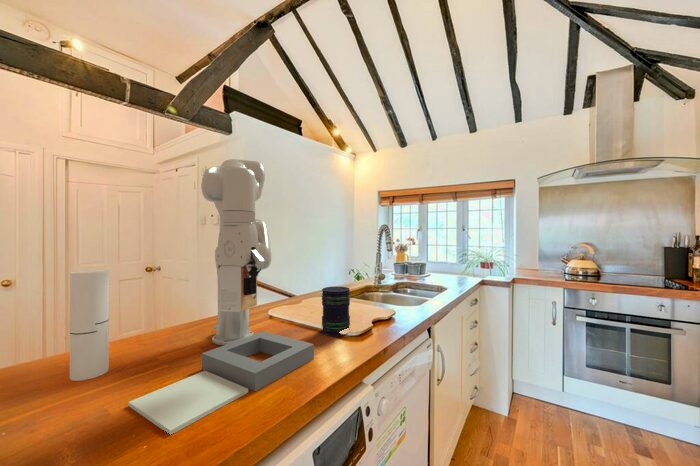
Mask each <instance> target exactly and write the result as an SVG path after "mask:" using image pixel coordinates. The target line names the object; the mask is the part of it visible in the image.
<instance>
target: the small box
mask: <svg viewBox="0 0 700 466" xmlns="http://www.w3.org/2000/svg"><path fill="white" fill-rule="evenodd" d="M249 270H251V268H249ZM244 278H246V275H245V273H244V267H240V266H220V267H219V311H220V312H242V311H244V310H246V309H248V308H249V309H251V308H253V307H256V306H257V305H258V299H257V298H258V277H256V294H252V295H244Z"/></svg>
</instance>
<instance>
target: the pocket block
mask: <svg viewBox="0 0 700 466" xmlns="http://www.w3.org/2000/svg"><path fill="white" fill-rule="evenodd" d="M259 352H260V353H264V354H267V355H270V356H271V357H268V358H266V359H264V360H262V361H259V360H256V359H254V358H249V357H250V356H253V355H255V354H257V353H259ZM314 359H315V344H314V343H311V342H307V341H303V340H298V339H294V338H292V337H287V336H283V335H279V334H276V333H271V332H267V331H261V332H258V333H256V334H254V335H252V336H249V337H246V338H244V339H241V340H238V341H235V342H232V343H230V344H227V345H220V346H219V347H216V348H213V349H209V350H207V351H205V352H201V370H203V371H207V372H210V373H212V374H214V375H217V376H219V377H222V378H224V379H226V380H229V381H231V382H233V383H236V384H238V385H240V386H243V387H245V388H248V390H249V391H253V392H257V391H259V390H260V389H263V388H264V387H267V386H268V385H270V384H272V383H273V382H276V381H277V380H279V379H280V378H282V377H284V376H286V375H288V374H289V373H292V372H293V371H295V370H297V369H298V368H300V367H302V366H304V365H305V364H307V363H308V362H311V361H312V360H314Z"/></svg>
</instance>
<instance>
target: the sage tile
mask: <svg viewBox="0 0 700 466" xmlns="http://www.w3.org/2000/svg"><path fill="white" fill-rule="evenodd" d="M246 394H249V389H248V388H245V387H243V386H240V385H238V384H236V383H233V382H231V381H229V380H226V379H224V378H222V377H219V376H217V375H214V374H212V373H210V372H207V371H205V370H203V371H200V372H198V373H195V374H194V375H191V376H188V377H185V378H183V379H180V380H178V381H176V382H174V383H172V384H169V385H166V386H164V387H162V388H159V389H156V390H154V391H151V392H149V393H146V394H144V395H143V396H140V397H137V398H134V399H132V400H130V401H128V407H129V408H130V409H132V410H134V411H135V412H136V413H138V414H139V415H140V416H142V417H143V418H145V419H146V420H148V421H149V422H151V423H152V424H154V425H155V426H156V427H158V428H160V429H161V430H162V431H163V430H164V431H163V432H165V431H166V432H167V433H166V432H165V433H166V434H168V433H169V434H170V435H169V434H168V435H169V436H172V435H173V433H174V434H176V433H177V432H179V431H182V430H183V429H185V428H186V427H188V426H190V425H192V424H193V423H195V422H197V421H199V420H201V419H203V418H204V417H206V416H208V415H210V414H211V413H213V412H215V411H217V410H219V409H222V407H224V406H226V405H228V404H230V403H231V402H233V401H235V400H238V399H239V398H240V397H243V396H244V395H246ZM171 434H172V435H171Z"/></svg>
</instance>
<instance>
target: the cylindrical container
mask: <svg viewBox="0 0 700 466" xmlns="http://www.w3.org/2000/svg"><path fill="white" fill-rule="evenodd" d="M69 279H70V280H69V283H70V285H69V380H70V381H73V382H74V381H75V382H77V381H78V382H79V381H86V380H90V379H94V378H98V377H99V376H102V375H104V374H106V373H107V372H108V371H109V359H110V358H109V351H110V350H109V349H110V347H109V346H110V345H109V343H110V342H109V341H110V335H109V332H110V326H109V325H110V324H109V323H110V270H109V269H89V270H88V269H87V270H78V271H77V270H76V271H75V270H74V271H71V272H70V275H69Z"/></svg>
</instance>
